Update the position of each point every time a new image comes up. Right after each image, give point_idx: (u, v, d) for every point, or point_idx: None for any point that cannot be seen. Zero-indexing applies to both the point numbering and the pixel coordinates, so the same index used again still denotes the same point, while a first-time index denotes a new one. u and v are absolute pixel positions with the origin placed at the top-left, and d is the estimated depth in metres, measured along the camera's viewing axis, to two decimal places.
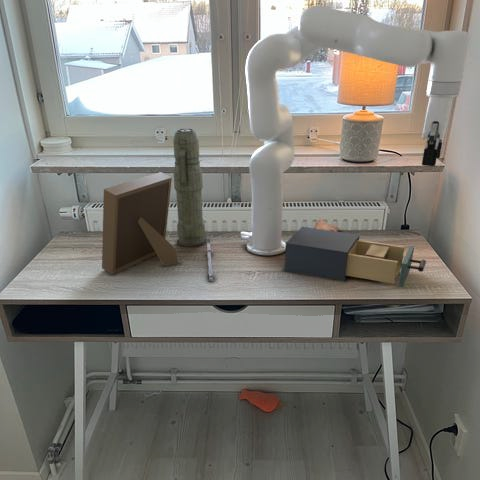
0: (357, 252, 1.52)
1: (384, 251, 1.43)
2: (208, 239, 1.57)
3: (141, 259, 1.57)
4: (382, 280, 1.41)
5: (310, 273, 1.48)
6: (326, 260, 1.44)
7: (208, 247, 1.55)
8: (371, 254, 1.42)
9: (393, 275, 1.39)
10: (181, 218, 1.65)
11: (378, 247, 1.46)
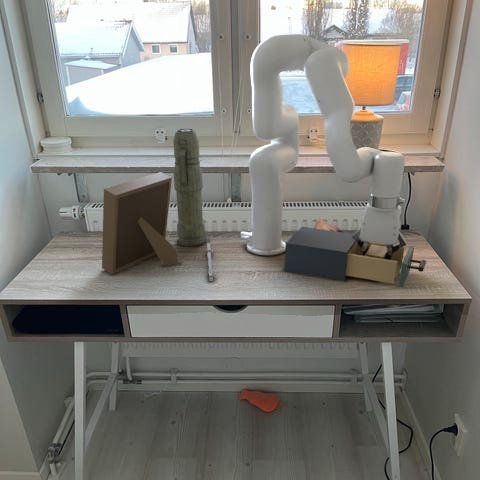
0: (357, 252, 1.52)
1: (384, 251, 1.43)
2: (208, 239, 1.57)
3: (141, 259, 1.57)
4: (382, 280, 1.41)
5: (310, 273, 1.48)
6: (326, 260, 1.44)
7: (208, 247, 1.55)
8: (371, 254, 1.42)
9: (393, 275, 1.39)
10: (181, 218, 1.65)
11: (378, 247, 1.46)
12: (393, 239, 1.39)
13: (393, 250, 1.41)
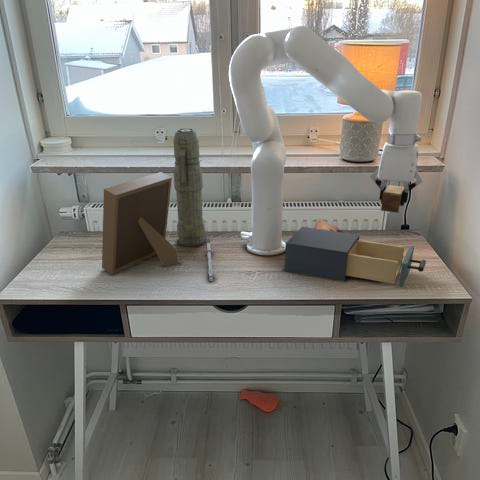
0: (357, 252, 1.52)
1: (401, 189, 1.50)
2: (208, 239, 1.57)
3: (141, 259, 1.57)
4: (382, 280, 1.41)
5: (310, 273, 1.48)
6: (326, 260, 1.44)
7: (208, 247, 1.55)
8: (389, 192, 1.49)
9: (393, 275, 1.39)
10: (181, 218, 1.65)
11: (395, 187, 1.53)
12: (410, 176, 1.46)
13: (409, 187, 1.48)
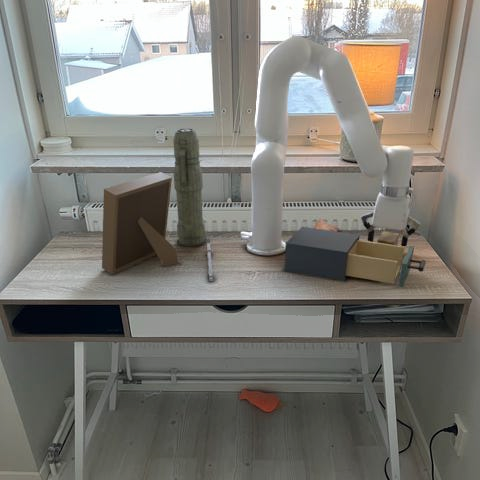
0: (357, 252, 1.52)
1: (394, 237, 1.58)
2: (208, 239, 1.57)
3: (141, 259, 1.57)
4: (382, 280, 1.41)
5: (310, 273, 1.48)
6: (326, 260, 1.44)
7: (208, 247, 1.55)
8: (383, 239, 1.57)
9: (393, 275, 1.39)
10: (181, 218, 1.65)
11: (388, 234, 1.61)
12: (403, 225, 1.54)
13: (409, 232, 1.55)
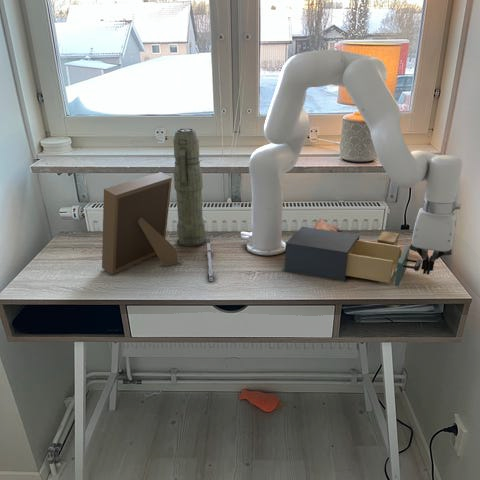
0: (353, 251, 1.53)
1: (394, 237, 1.58)
2: (208, 239, 1.57)
3: (141, 259, 1.57)
4: (378, 279, 1.42)
5: (310, 273, 1.48)
6: (326, 260, 1.44)
7: (208, 247, 1.55)
8: (383, 239, 1.57)
9: (389, 274, 1.40)
10: (181, 218, 1.65)
11: (388, 234, 1.61)
12: (448, 245, 1.34)
13: (436, 255, 1.37)
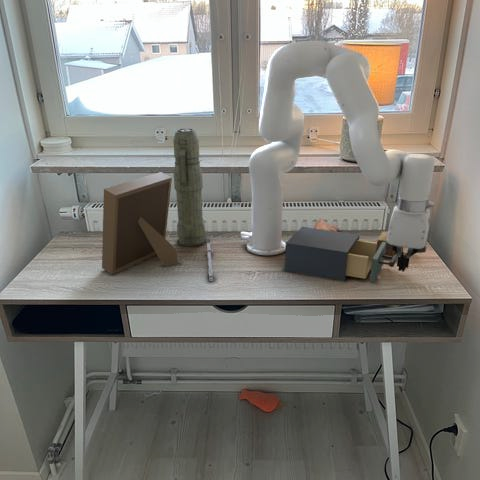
0: None
1: None
2: (208, 239, 1.57)
3: (141, 259, 1.57)
4: (354, 275, 1.44)
5: (310, 273, 1.48)
6: (326, 260, 1.44)
7: (208, 247, 1.55)
8: (383, 239, 1.57)
9: (364, 270, 1.42)
10: (181, 218, 1.65)
11: None
12: (421, 243, 1.36)
13: (411, 253, 1.40)
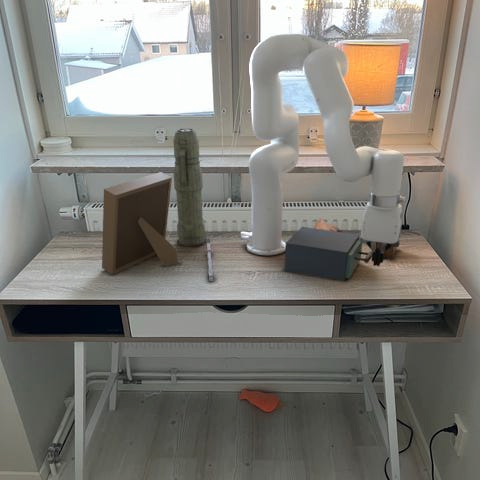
0: None
1: None
2: (208, 239, 1.57)
3: (141, 259, 1.57)
4: None
5: (310, 273, 1.48)
6: (326, 260, 1.44)
7: (208, 247, 1.55)
8: None
9: None
10: (181, 218, 1.65)
11: None
12: (394, 237, 1.39)
13: (385, 248, 1.42)
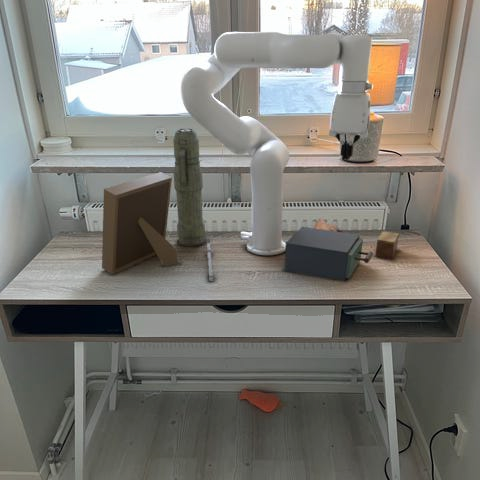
0: None
1: (394, 237, 1.58)
2: (208, 239, 1.57)
3: (141, 259, 1.57)
4: None
5: (310, 273, 1.48)
6: (326, 260, 1.44)
7: (208, 247, 1.55)
8: (383, 239, 1.57)
9: None
10: (181, 218, 1.65)
11: (388, 234, 1.61)
12: (362, 127, 1.39)
13: (353, 139, 1.43)
